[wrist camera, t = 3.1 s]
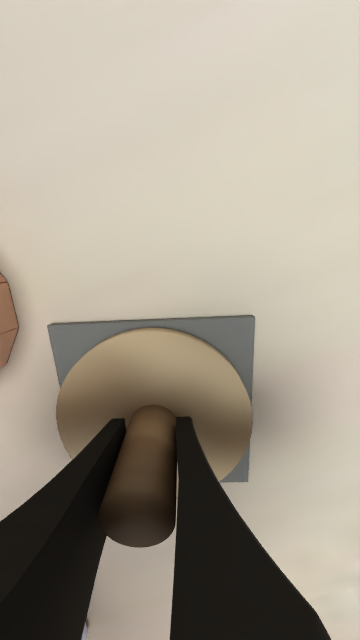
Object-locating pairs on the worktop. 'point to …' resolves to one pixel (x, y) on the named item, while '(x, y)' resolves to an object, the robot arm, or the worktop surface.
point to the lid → (153, 421)
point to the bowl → (6, 322)
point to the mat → (220, 332)
